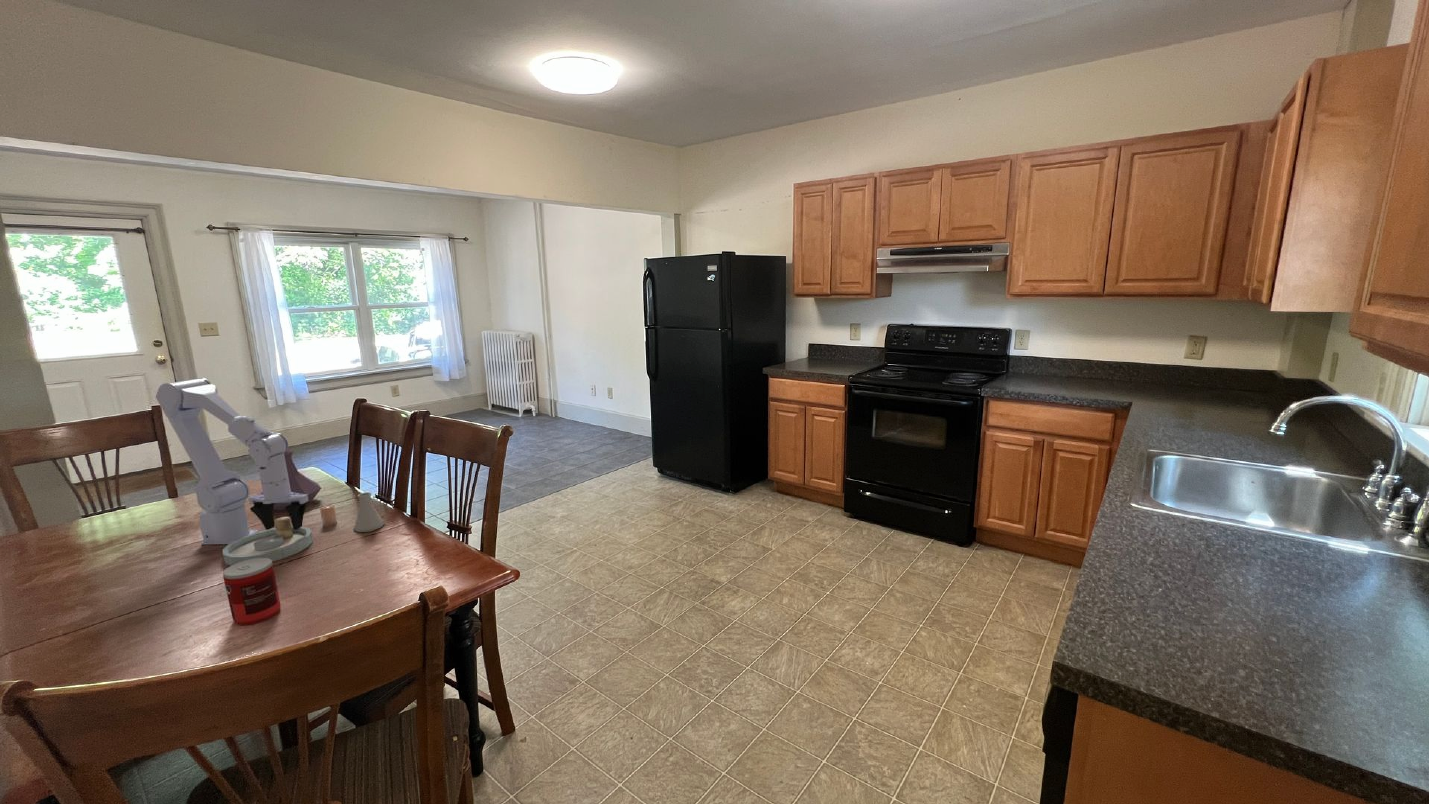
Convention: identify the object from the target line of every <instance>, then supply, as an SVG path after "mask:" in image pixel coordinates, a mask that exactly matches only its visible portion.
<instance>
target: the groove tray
mask: <svg viewBox="0 0 1429 804" xmlns="http://www.w3.org/2000/svg"><path fill="white" fill-rule="evenodd" d="M292 531H293V536H292V537H290V538H287V539H283V536H277V533H276V528H275V527H273V528H271V529H269V530H266V529H264V530H261V531H259V532H256V533H253V534H250V535H247V536H245V537H242V538H239V539H237V540H235V541H234V542H232V543H230V544H226V546H225V547H224V548H223V549H222V556H223V560H224V564H225V565H227V566H229V567H230V566H232V565H234V564H236V563H239V562H242V561H246V560H250V559H256V558H268V559H271V561H272V563H273V562H277V561H279V560H283V559H286V558H289V557H291V556H293V555H296V554H298V553H300V552H301V551H303V550H305V549H306V548H308V547H310V546H311V544H312V543H313V541H314V537H313V533H312V532H313V531H312V529H310V527H308V526H303V525H302V527H300V528H299V529H297V530H294V528H293V526H292Z"/></svg>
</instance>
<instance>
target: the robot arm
mask: <svg viewBox="0 0 1429 804" xmlns="http://www.w3.org/2000/svg"><path fill="white" fill-rule="evenodd" d="M157 389H158V390H157V392H156V395H155V399H156V401H157V402H158V404H159V406H160V408H161V410H162V411H163V413H164V415H165V417H166V418H167V419H168V421H169V423H170V425H171V427H172V428H173V430H174V432H175V434H176V436H177V438H178V439H179V441H180V443H181V445H182V446H183V449H184V451H185V452H186V454H187V456H188V458H189V459H190V461H191V463H192V465H193V466H194V468H195V470H196V472H197V475H198V476H199V477H200V480H199V481H198V482H197V484H196V486H195V487H194V488H193V490H194V492H195V494H196V500H197V504H198V506H199V507H200V509H201V510H203V511H202V513H200V516H199V519H198V520H199V521H198V523H199V526H200V531H201V537H202V542H200V545H228V544H230V543H232V542H234V541H235V540H237V539H239V538H242V537H245V536H247V535H250V534H253V533H256V532H260V531H259V529H250V526H249V523H248V522H249V521H248V517H247V516H248V515H247V511H246V507H245V504H246V503H247V499H248V504H249V505H253V506H251V507H250V512H252V513H253V514H254V515H256V517H257V518H258V519H259V520H260V522H261V523H262V525H263V527H264V530H269V529H273V528H275V523H274V520H275V517H274V509H273V507H274V503H291V504H290V505H288V506H286V507H285V509H286V510H285V511H286V513H288V515H289V516H288V517H290V520H291V525H292V526H293V528H294V530H297V529H299V528H300V527H302V526H303V520H304V514H305V511H306V508H307V506H308V505H309V504H308V501H309V500H308V495H307V494H299V493H293V492H291V489H290V484H289V478H288V473H287V467H286V462H285V457H284V453H285V452H286V451H287V450H288V449H289V443H288V440H287V438H286V437H285V436H284V434H282V433H279V432H273V430H272V431H271V430H270V431H269V430H268V429H266V428H265V427H264V426H262V425H261V424H260V423H259V422H257V421H256V420H255V418H253V417H252V416H249V415H241V414H240V413H238V412H237V411H236V410H235V409H234V407H232V406H231V405H230V404H229V403H228V402H227V401H225V400H224V399H223V398H222V397H221V396H220V395H219V394H218V388H217V386H216V385H215V384H213V383H212V382H211V381H210V380H209V379H207V378H205V377H197V378H195V379H194V378H193V379H187V380H180V381H175V382H165V383H162V384H161V385H160V386H159V387H158V388H157ZM203 410H205V411H206V412H208V413H209V414H211V415H212V416H214V417H215V418H217V419H219V420H220V421H221V422H223V423H224V424H226V425H227V427H228V428H227V431H228V433H229V434H231V435H232V436H233V437H235V438H236V439H237V440H238V441H240V442H241V443H243V445H245V446H246V447H248V449H247V452H248V454H249V456H250V457H251V458H252V459H253V461H254V465H255V466H256V467H257V468H258V473H259V478H260V483H261V488H262V492H263V494H262V495H260V494H254V495H251V496H250V494H251V493H250V492H251V491H250V490H251V489H250V487H249V484H248V483H247V482H246V481H244V480H243V478H242V477H241V476H240V475H239V474H240V473H238V472H234V471H231V470H228V469H227V468H226V466H225V464H224V463H223V460H222V459H221V458H220V456H219V453H218V451H217V450H216V448H215V447H214V445H213V443H212V441H211V439H210V437H209V435H208V434H207V432H206V429H205V428H204V426H203V424H202V422H201V421H200V418H199V414H200V413H201V412H202V411H203Z"/></svg>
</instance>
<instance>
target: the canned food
mask: <svg viewBox="0 0 1429 804" xmlns="http://www.w3.org/2000/svg"><path fill="white" fill-rule="evenodd" d="M222 574H223V575H222V577H223V582H224V587H225V592H226V596H227V600H228V604H229V608H230V613H231V617H232V618H231V619H232V621H234V623H235V624H236V625H239V626H249V625H250V626H251V625H256V624H260V623H262V622H265V621H267V620H270V619H272V618H273V617H274V616H276V615H277V614H278V613H279V612H280V610H281V606H282V605H281V599H280V594H279V590H278V585H277V579H276V575H275V574H276V573H275V568H274V564H273V562H272V561H271V559H268V558H256V559H250V560H246V561H242V562H239V563H236V564H234V565H232V566H230V565H229V566H228V567H227V568H225V569H224V570H223V572H222Z"/></svg>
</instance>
